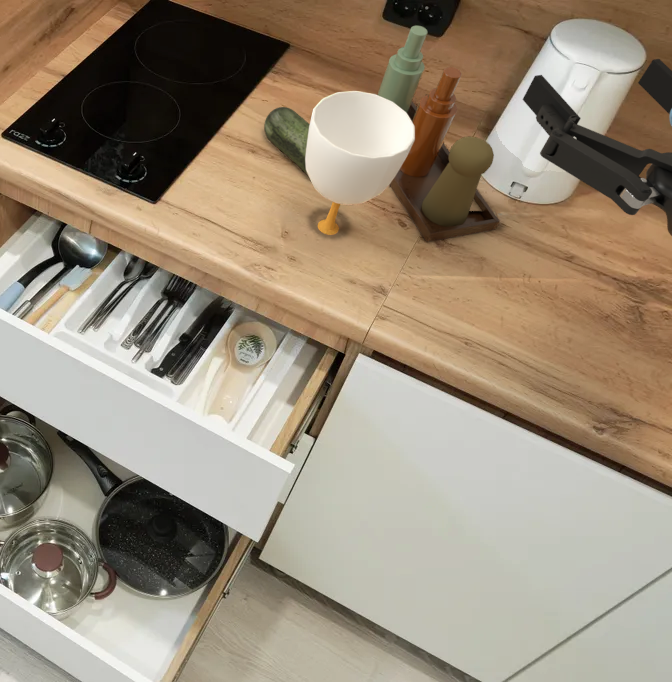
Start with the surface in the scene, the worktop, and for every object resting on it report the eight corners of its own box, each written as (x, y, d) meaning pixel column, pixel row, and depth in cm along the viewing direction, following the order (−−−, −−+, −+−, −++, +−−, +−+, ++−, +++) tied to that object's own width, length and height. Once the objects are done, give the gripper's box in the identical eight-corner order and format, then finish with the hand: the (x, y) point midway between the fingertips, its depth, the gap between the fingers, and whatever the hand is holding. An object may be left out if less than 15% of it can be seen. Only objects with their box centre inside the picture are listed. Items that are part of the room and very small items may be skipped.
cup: (342, 189, 108) (379, 82, 94) (390, 250, 102) (437, 145, 88) (266, 210, 105) (292, 101, 91) (310, 274, 99) (346, 168, 85)
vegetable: (346, 179, 109) (355, 150, 105) (318, 193, 107) (326, 164, 103) (279, 121, 116) (286, 92, 111) (252, 134, 113) (258, 104, 109)
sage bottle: (397, 113, 118) (433, 20, 105) (404, 135, 115) (441, 42, 103) (365, 112, 117) (397, 18, 105) (371, 134, 114) (404, 40, 102)
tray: (493, 232, 105) (500, 221, 103) (424, 245, 103) (430, 233, 101) (400, 102, 120) (405, 91, 118) (339, 111, 118) (342, 99, 116)
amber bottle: (426, 154, 113) (466, 61, 101) (434, 177, 110) (476, 85, 98) (393, 153, 112) (429, 59, 100) (399, 176, 109) (438, 83, 97)
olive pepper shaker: (476, 213, 106) (511, 148, 97) (449, 234, 104) (482, 169, 95) (439, 188, 109) (470, 122, 100) (412, 207, 106) (441, 141, 97)
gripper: (590, 288, 67) (465, 126, 79) (821, 240, 73) (672, 95, 84) (639, 225, 61) (496, 59, 73) (887, 177, 67) (717, 31, 78)
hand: (591, 78), depth 79 cm, fingers open, 13 cm apart
